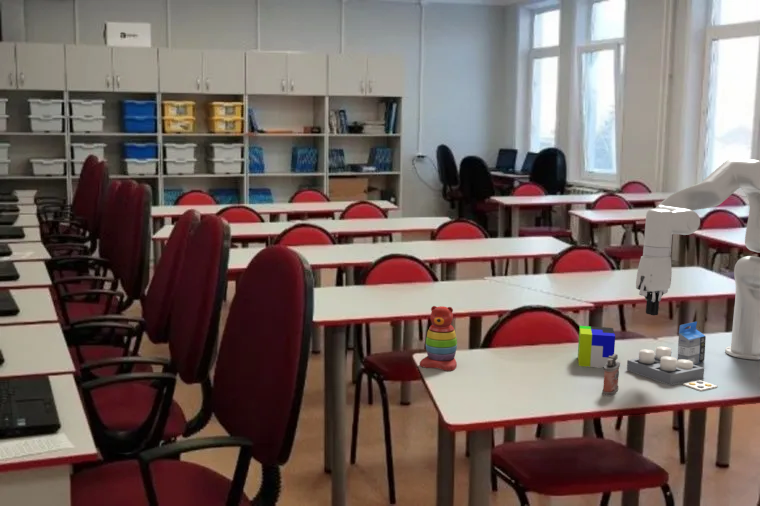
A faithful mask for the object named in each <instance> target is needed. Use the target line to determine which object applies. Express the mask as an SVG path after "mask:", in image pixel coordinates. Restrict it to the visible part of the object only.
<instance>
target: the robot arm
mask: <svg viewBox="0 0 760 506" xmlns="http://www.w3.org/2000/svg"><path fill="white" fill-rule="evenodd" d="M739 189H741V190H742V191H743V193H744V194H745V196H746V197H747V200H748V204H749V205H748V206H749V208H748V209H749V212H748V218H747V224H746V229H745V237H744V244H745V247H746V248H747V249H748V250H749V251H751V252H755V253H757V254H758V253H760V160H758V159H745V158H731V159H728V160H726V161H725V162H723V163H722V164H721V165H720V166H718V168H716V169H715V170H713V171H712V172H711V173H710V174H709V175H708V176H707V177H705V178H704V179H703V180H702V181H701V182H699V183H697V184H696V183H695V184H694V185H691V186H688V187H686V188H683V189H680V190H679V191H676V192H674V193H672V194H670V195H669V196H667V197H666V198H664V199H663V200H662V201H661V202H660V203H659V204H658V205H657V206H656V207H655V208H651V209H648V210H647V211H646V215H645V225H644V237H643V240H644V241H643V249H642V256H640V259H639V263H638V266H637V272H636V273H637V274H636V281H635V288H636V289H637V290H639V293H638V294H639V296H642V297H644V299H645V301H646V302H645V304H646V305H645V314H646V315H649V316H658V315H659V309H660V308H659V307H660V302H661V300H662V297H663V296H664V295H666V294H668V292H669V289H671V286H672V285H671V284H672V272H673V271H672V270H673V269H672V267H673V266H672V257H671V255H672V254H671V253H672V241H673V235H683V236H686V235H692V234H694V233H695V232H696V231H698V229H699V228H700V225H701V219H700V216H699V215H698V213H697V212H695V211H698V210H704V209H710V208H714V207H718V206H720V205H721V204H723V202H725V201H726V200H727V199H728V198H729V197H730V196H732V195H733V194H734V193H735V192H736V191H737V190H739ZM733 275H734V276H733V277H734V284H735V285H734V286H735V299H734V307H733V321H732V332H731V342H730V345H729V346H726V347H725V350H724V351H725V353H726V354H727V355H729V356H731V357H735V358H738V359H744V360H757V361H758V360H760V257H759V256H754V255H747V256H743V257H740V258H739V259H738V260H737V262H736V263H735V265H734V272H733Z"/></svg>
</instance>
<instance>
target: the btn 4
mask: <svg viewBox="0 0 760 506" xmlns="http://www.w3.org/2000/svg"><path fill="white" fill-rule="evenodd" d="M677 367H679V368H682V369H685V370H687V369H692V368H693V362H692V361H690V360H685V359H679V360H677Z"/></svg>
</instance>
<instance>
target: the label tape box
mask: <svg viewBox="0 0 760 506" xmlns="http://www.w3.org/2000/svg"><path fill="white" fill-rule="evenodd" d="M697 324H698V321H693V322H688V323H684V324H680V325H679V329H678V343H677V344H678V346H677V359H678V360H679V359H685V360H690V361H692V362H693V365H698V364H701V363H704V362H705V357H706V355H705V353H706V334H705V335H704V334H703V332H701V331H699V330H698V329H697ZM688 327H689V328H688Z"/></svg>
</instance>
